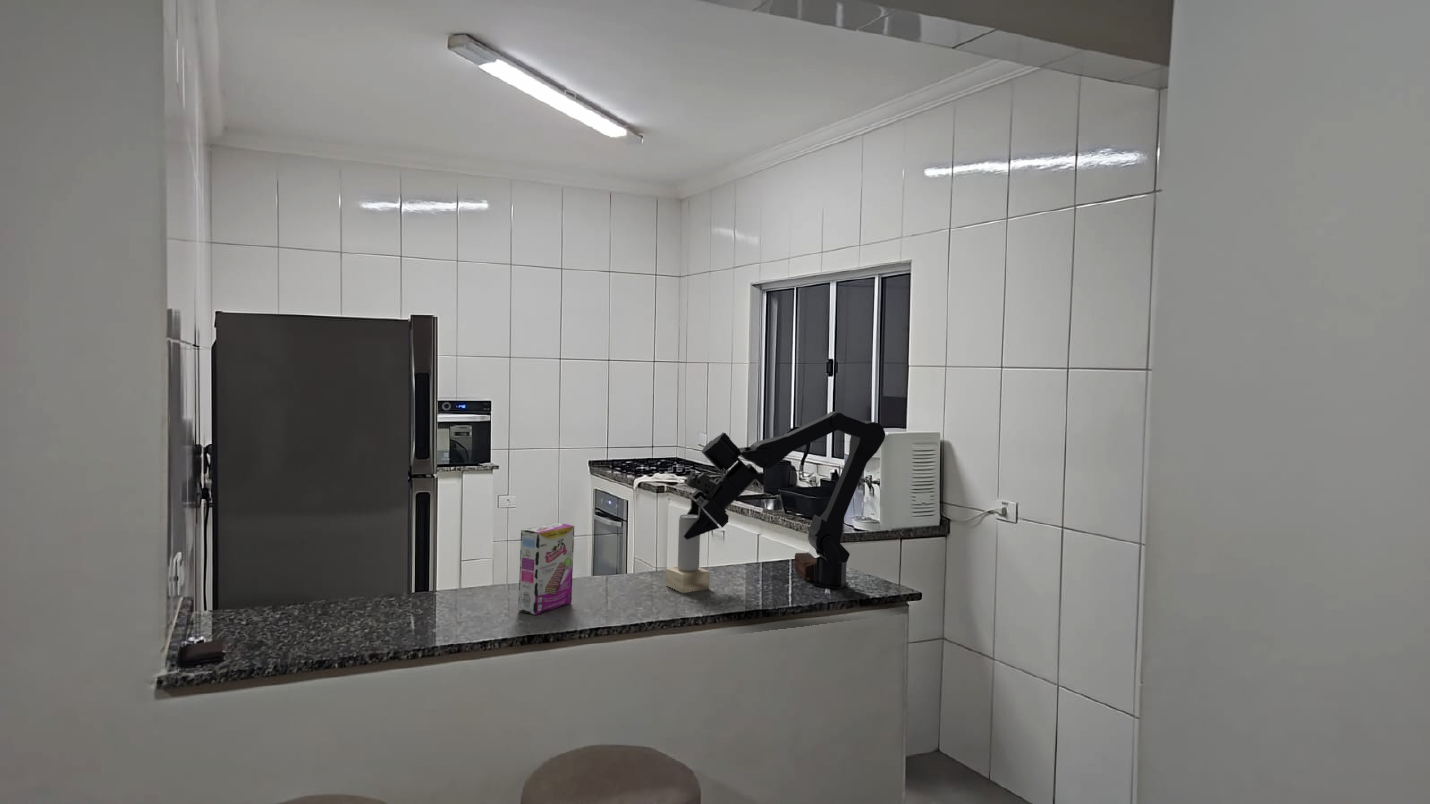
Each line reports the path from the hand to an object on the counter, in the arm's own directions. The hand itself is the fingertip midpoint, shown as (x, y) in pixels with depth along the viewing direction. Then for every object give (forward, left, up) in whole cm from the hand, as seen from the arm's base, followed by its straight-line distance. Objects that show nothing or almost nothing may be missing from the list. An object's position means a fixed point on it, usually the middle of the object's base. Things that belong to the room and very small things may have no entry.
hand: (682, 534), depth 197 cm
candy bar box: (+13, +30, -12) cm, 35 cm away
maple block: (-1, -1, -12) cm, 12 cm away
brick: (-18, -28, -12) cm, 35 cm away
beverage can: (-1, -1, -8) cm, 8 cm away
